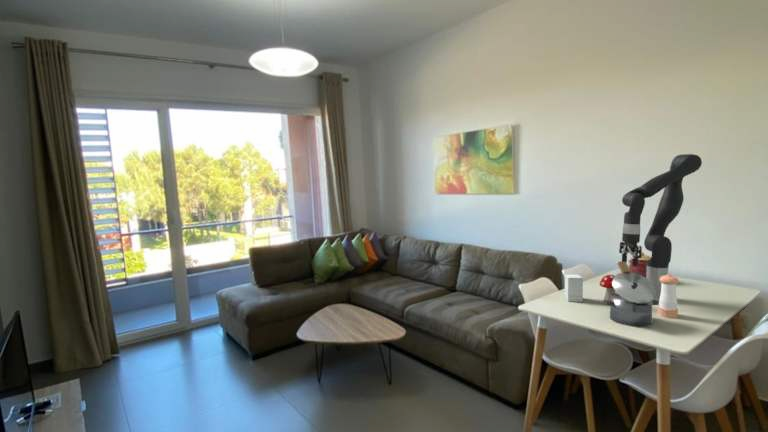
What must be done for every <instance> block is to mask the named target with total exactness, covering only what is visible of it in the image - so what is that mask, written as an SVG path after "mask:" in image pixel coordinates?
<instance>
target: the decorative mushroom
mask: <svg viewBox="0 0 768 432" xmlns="http://www.w3.org/2000/svg"><path fill="white" fill-rule="evenodd" d="M615 276H616V275H613V274H606V275H605V276H604V275H603V277H602V278H601V279H600V282H599V286H600V287H602V288H605V289H606V290H605V294H604V297H603V299H602V303H603V304H604V300H610V296H611V295H612V294H615V293H616V292H615V291H614V289H613V287H612V281H613V279H614V277H615ZM604 305H605V306H607V305H606V304H604ZM608 306H609V307H610V305H608Z"/></svg>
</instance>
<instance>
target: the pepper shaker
mask: <svg viewBox="0 0 768 432" xmlns="http://www.w3.org/2000/svg"><path fill="white" fill-rule="evenodd" d="M659 280H660V282H661V283H662V284H661V295H660V299H659V301H658V302H659V305H658V308H657V309H658V310H657V313H658V315H659V316H660V317H663V318H668V319H673V318H674V319H675V318H678V315H679V314H678V313H679V312H678V311H679V309H678V308H677V307H678V296H677V284H678V283H679V279H678V277H676V276H674V275H672V274H671V273H668V274H667V275H664V276H661V277H660V279H659Z"/></svg>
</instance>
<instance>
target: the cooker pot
mask: <svg viewBox="0 0 768 432" xmlns="http://www.w3.org/2000/svg"><path fill="white" fill-rule="evenodd" d="M605 304H606V305H605ZM603 305H605V306H609V305H610V306H609V318H610V320H612V322H614V323H617V324H620V325H623V326H628V327H643V328H644V327H649V326H651V325H652V324H653V306H659V301H656V300H652V301H650V302H649V303H647V305H636V303H632V302H629V301H626V300H624V299H623V298H621V297H620V296H619V295H618V294H617V293H616V292H615V294H612V295H611V296H610V300H604V303H603Z"/></svg>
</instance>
